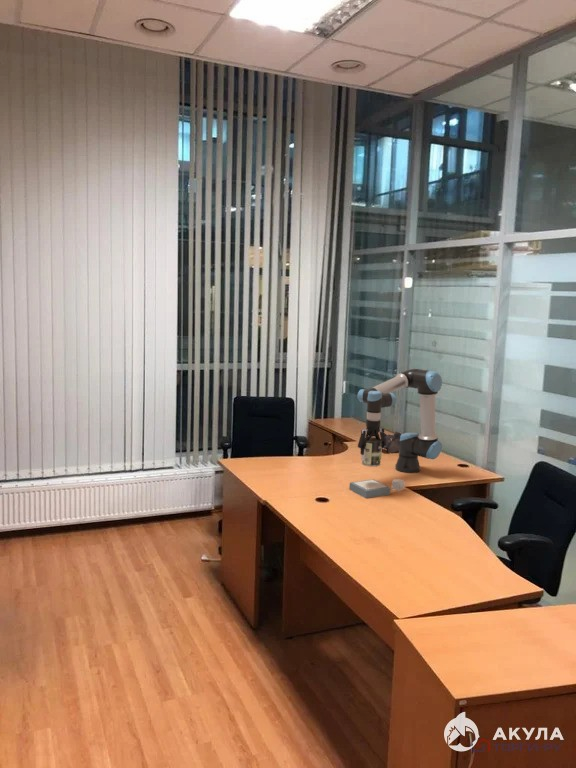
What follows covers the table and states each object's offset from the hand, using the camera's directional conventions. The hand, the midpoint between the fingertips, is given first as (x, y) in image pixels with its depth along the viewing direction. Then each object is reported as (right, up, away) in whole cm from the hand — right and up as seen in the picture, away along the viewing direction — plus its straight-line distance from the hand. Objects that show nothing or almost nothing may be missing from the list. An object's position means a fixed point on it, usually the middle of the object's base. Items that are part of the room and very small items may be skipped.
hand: (371, 459), depth 342 cm
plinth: (-1, -18, +3) cm, 19 cm away
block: (+16, -18, +10) cm, 26 cm away
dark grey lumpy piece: (+27, -6, +91) cm, 95 cm away
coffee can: (0, -3, 0) cm, 3 cm away
